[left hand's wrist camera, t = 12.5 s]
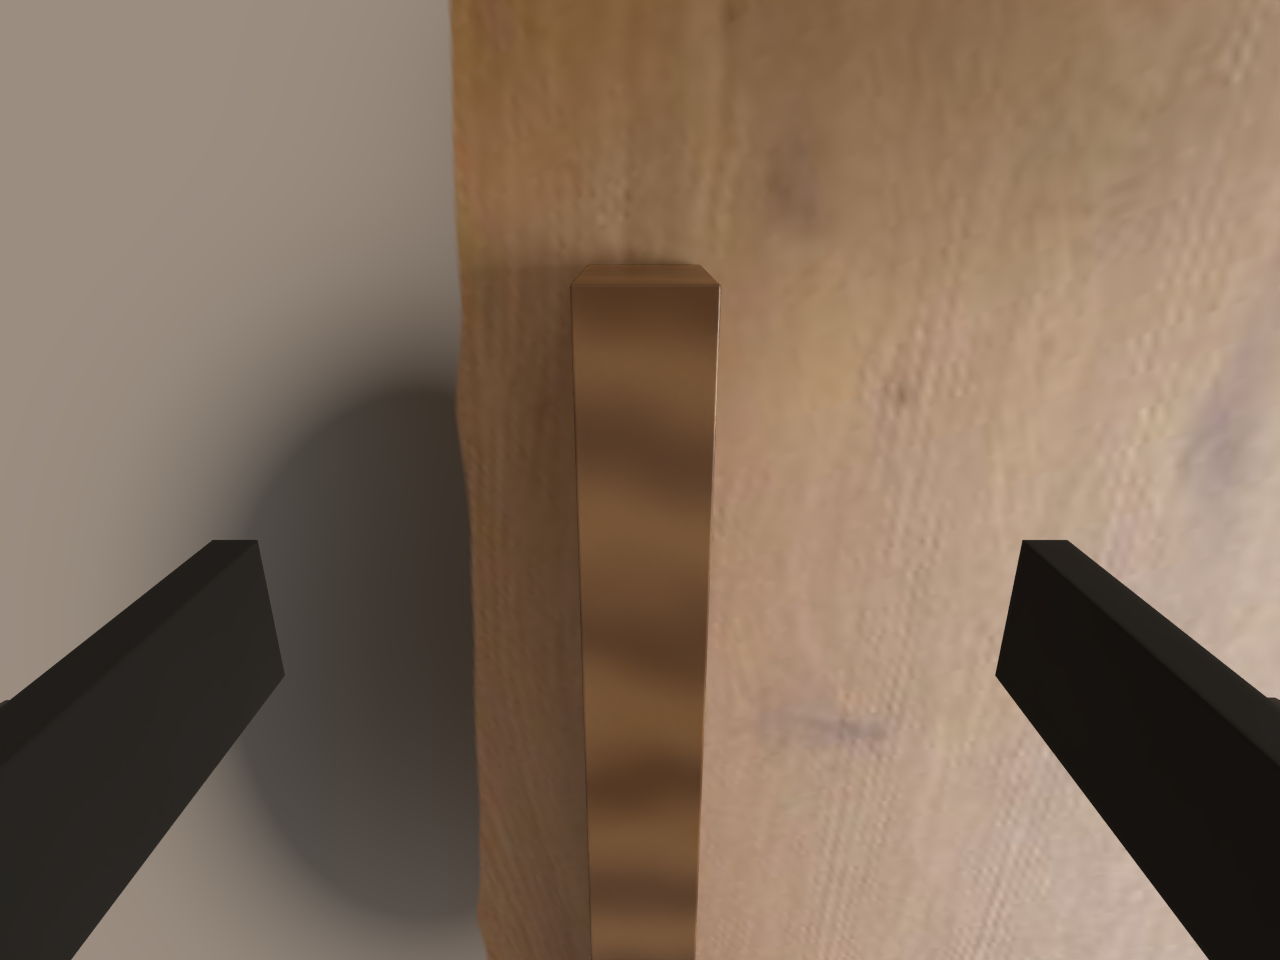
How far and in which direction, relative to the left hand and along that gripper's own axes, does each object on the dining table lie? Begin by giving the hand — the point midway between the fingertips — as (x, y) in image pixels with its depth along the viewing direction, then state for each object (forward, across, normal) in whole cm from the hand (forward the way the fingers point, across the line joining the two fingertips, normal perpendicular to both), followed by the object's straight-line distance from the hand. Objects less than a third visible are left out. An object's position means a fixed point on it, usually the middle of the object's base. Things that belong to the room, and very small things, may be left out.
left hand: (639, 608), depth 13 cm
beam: (+22, 0, -22) cm, 31 cm away
